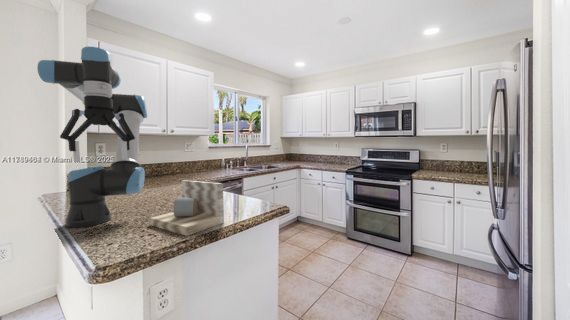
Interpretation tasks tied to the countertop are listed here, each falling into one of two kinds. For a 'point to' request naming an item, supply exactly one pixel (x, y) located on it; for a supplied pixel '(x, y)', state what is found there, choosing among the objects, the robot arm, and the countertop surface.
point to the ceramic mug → (185, 207)
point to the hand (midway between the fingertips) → (102, 160)
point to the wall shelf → (207, 211)
